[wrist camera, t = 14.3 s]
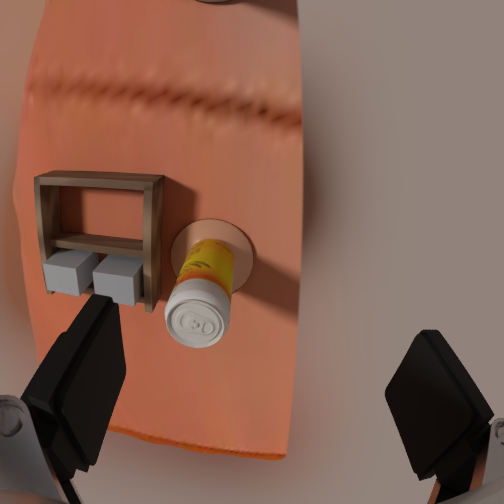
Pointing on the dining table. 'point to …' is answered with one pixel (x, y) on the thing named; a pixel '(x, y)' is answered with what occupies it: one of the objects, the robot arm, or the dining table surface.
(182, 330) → the beer can
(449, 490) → the robot arm
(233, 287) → the coaster
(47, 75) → the dining table surface
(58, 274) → the offcut
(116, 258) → the offcut
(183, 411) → the dining table surface
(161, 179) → the rack
